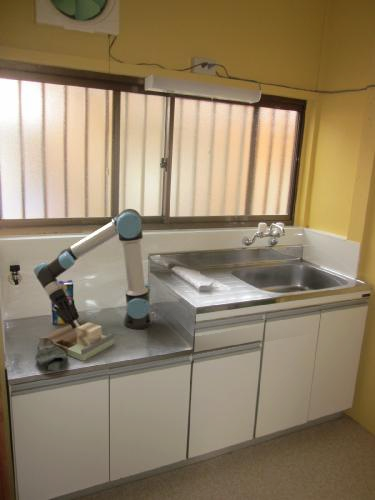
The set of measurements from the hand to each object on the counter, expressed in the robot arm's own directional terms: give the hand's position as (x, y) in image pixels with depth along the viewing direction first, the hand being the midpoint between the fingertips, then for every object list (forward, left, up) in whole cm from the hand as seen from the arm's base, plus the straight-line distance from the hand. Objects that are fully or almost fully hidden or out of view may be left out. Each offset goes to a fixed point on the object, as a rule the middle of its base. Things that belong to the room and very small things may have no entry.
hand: (80, 332), depth 201 cm
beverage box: (+9, -30, -7) cm, 32 cm away
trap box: (+5, -5, -7) cm, 10 cm away
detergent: (+14, +11, -7) cm, 19 cm away
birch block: (-4, +3, -4) cm, 6 cm away
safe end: (-5, +4, -7) cm, 9 cm away
